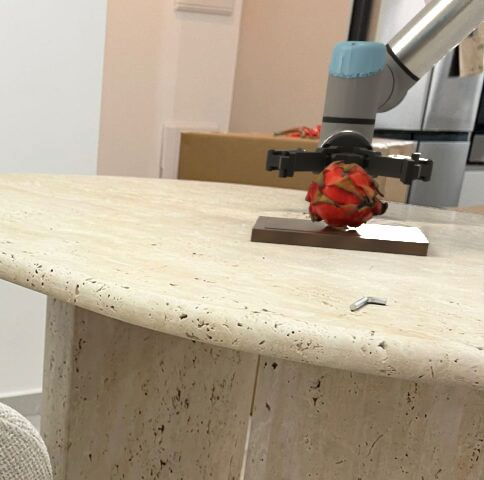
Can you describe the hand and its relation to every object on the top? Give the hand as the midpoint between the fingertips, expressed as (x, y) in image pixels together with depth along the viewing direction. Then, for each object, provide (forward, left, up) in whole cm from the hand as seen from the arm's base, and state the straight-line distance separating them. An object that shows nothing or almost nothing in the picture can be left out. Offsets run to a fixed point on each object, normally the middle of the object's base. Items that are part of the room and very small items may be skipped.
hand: (349, 169), depth 113 cm
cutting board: (0, -2, -9) cm, 9 cm away
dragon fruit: (0, -2, -7) cm, 7 cm away
